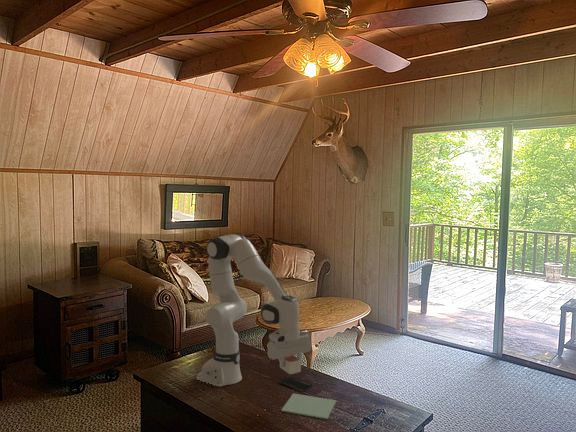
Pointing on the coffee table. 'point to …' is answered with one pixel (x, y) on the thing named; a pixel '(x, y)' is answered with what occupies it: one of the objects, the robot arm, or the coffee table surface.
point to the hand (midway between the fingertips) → (290, 365)
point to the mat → (309, 406)
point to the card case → (291, 364)
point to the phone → (296, 384)
